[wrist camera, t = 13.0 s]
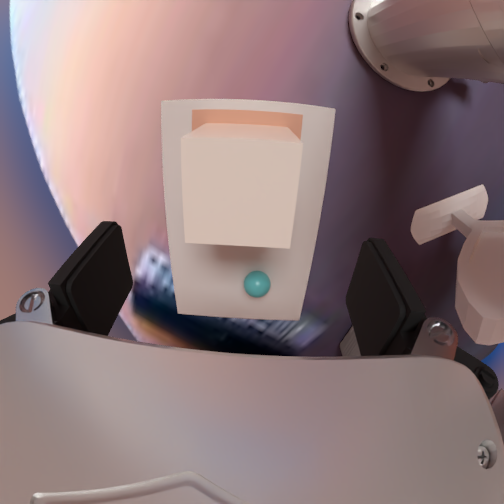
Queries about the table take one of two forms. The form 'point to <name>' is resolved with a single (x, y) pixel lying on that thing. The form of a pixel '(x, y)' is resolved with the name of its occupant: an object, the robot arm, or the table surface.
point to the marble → (257, 284)
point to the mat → (245, 257)
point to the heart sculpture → (471, 260)
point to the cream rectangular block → (240, 184)
